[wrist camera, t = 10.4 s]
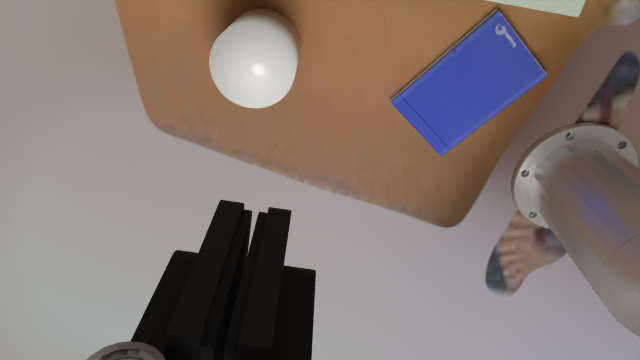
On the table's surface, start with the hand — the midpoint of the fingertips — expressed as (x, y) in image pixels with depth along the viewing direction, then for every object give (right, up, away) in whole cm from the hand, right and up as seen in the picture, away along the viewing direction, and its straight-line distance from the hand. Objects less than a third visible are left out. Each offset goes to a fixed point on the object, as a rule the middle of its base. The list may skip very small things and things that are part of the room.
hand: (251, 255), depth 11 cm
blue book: (+16, +11, +34) cm, 40 cm away
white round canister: (-4, +14, +32) cm, 36 cm away
